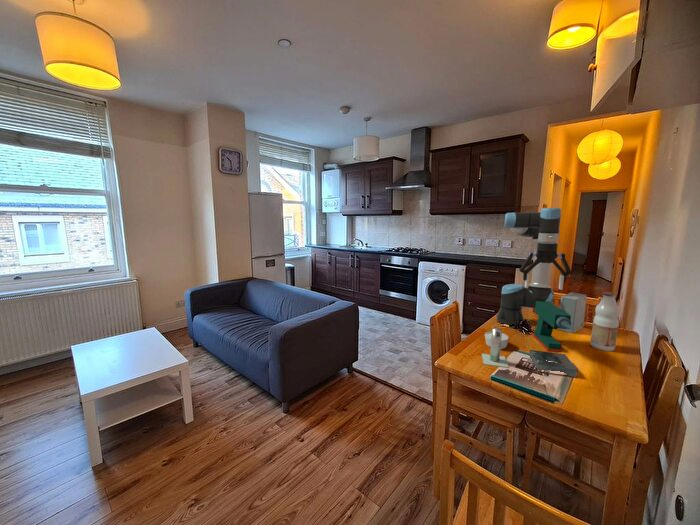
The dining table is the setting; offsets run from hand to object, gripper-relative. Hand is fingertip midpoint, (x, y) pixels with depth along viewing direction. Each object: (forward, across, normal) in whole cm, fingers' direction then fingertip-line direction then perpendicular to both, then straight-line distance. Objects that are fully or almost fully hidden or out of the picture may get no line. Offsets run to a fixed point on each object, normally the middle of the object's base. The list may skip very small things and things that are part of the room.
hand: (543, 288), depth 134 cm
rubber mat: (+33, -20, -13) cm, 40 cm away
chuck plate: (+33, +3, -11) cm, 35 cm away
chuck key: (+32, -20, -13) cm, 40 cm away
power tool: (+33, +9, +8) cm, 35 cm away
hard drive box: (+33, +27, +41) cm, 59 cm away
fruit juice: (+33, +33, +18) cm, 50 cm away
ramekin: (+33, -17, +5) cm, 37 cm away
